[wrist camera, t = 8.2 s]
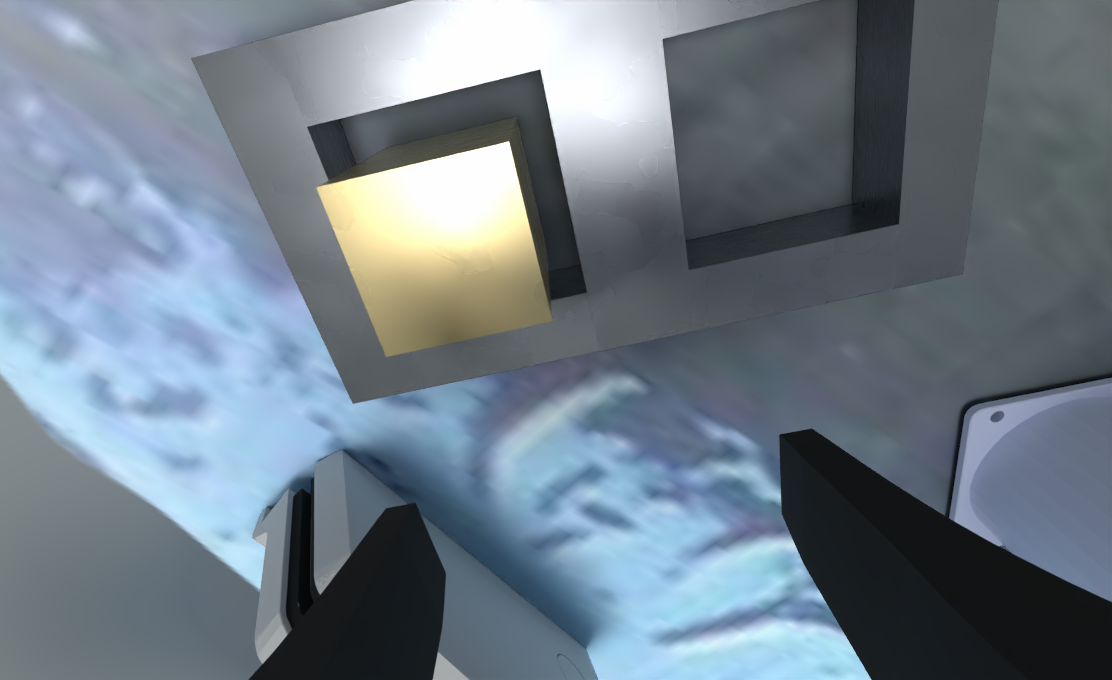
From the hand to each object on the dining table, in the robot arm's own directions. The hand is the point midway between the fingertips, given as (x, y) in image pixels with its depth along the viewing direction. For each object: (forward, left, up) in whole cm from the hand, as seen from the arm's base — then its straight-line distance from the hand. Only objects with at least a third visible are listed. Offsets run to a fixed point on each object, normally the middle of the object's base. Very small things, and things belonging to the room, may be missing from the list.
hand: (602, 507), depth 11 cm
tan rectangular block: (+2, -5, -9) cm, 11 cm away
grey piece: (+8, +11, -10) cm, 17 cm away
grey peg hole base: (-2, -5, -9) cm, 11 cm away
